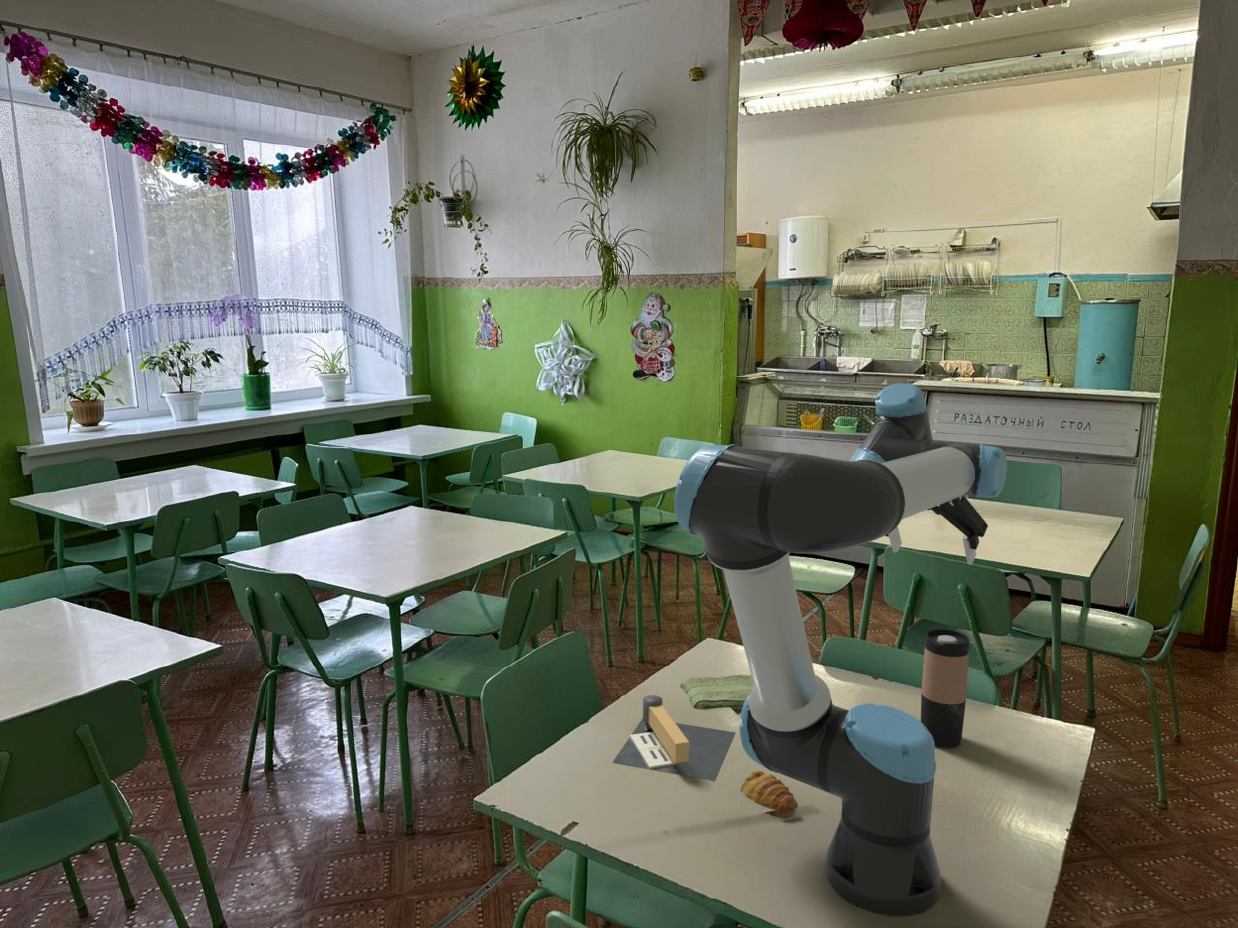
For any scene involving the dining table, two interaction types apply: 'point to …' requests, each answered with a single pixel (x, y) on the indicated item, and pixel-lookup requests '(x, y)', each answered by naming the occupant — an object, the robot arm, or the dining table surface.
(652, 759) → the label
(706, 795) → the dining table surface
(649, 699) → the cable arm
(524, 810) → the dining table surface
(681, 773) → the chassis plate
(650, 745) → the label
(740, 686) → the washcloth
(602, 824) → the dining table surface
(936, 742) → the travel mug
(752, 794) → the pastry
